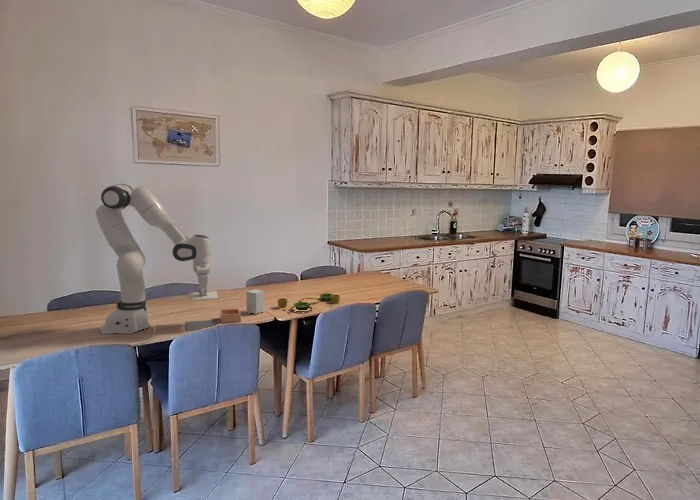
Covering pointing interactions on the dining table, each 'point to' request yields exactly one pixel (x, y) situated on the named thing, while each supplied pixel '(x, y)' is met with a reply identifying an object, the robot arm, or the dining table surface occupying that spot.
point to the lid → (208, 295)
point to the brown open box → (230, 315)
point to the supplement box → (255, 301)
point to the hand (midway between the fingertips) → (202, 293)
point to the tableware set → (304, 305)
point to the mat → (199, 325)
